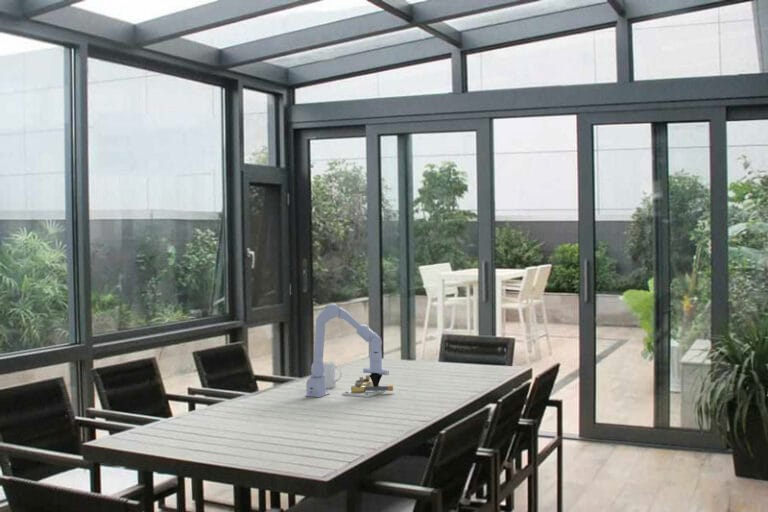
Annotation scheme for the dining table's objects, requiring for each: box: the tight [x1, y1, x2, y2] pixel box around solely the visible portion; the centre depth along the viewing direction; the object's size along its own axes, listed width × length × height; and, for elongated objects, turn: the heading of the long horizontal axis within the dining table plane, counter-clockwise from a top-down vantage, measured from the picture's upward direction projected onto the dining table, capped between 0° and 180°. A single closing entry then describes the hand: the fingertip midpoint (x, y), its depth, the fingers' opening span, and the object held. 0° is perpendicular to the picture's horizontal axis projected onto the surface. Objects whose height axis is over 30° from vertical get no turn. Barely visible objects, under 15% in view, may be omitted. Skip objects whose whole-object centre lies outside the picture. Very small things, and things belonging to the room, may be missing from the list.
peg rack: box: [355, 374, 373, 386], centre depth 441 cm, size 10×5×5 cm, turn 150°
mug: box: [323, 361, 343, 389], centre depth 442 cm, size 12×8×12 cm
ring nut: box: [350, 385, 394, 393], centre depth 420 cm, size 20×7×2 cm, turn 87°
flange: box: [342, 382, 386, 398], centre depth 422 cm, size 16×14×5 cm
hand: (376, 389), depth 422 cm, fingers closed, pressing on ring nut
